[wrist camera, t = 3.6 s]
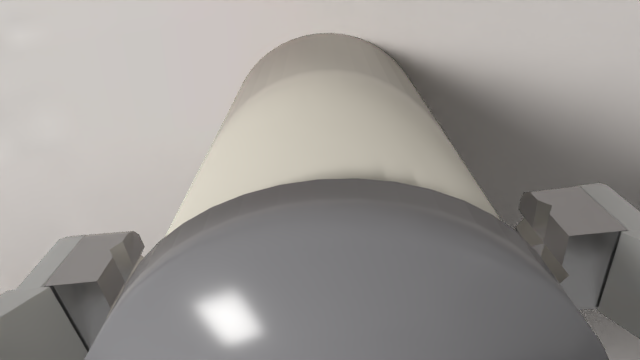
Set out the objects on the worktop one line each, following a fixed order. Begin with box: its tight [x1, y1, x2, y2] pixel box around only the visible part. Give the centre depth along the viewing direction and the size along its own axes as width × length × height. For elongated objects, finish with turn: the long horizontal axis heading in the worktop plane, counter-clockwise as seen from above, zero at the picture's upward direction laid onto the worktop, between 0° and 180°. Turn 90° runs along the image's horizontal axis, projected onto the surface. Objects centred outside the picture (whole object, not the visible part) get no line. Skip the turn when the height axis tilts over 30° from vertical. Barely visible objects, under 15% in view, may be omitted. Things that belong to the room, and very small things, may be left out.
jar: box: [84, 33, 609, 360], centre depth 9 cm, size 6×6×9 cm
